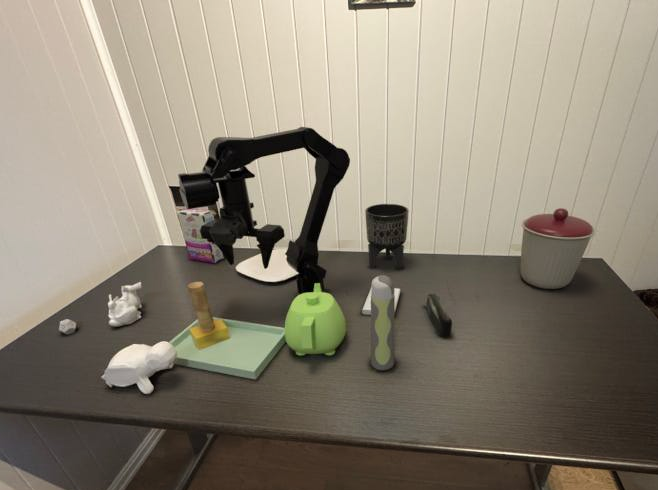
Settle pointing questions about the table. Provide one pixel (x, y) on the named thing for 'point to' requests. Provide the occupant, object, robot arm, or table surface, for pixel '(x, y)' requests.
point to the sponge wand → (205, 320)
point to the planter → (386, 231)
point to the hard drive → (367, 304)
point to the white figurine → (125, 306)
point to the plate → (275, 270)
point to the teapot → (314, 323)
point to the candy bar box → (198, 235)
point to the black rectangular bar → (438, 315)
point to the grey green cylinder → (382, 323)
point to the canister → (553, 248)
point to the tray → (232, 349)
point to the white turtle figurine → (139, 365)
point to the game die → (67, 326)
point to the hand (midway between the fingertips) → (249, 266)
